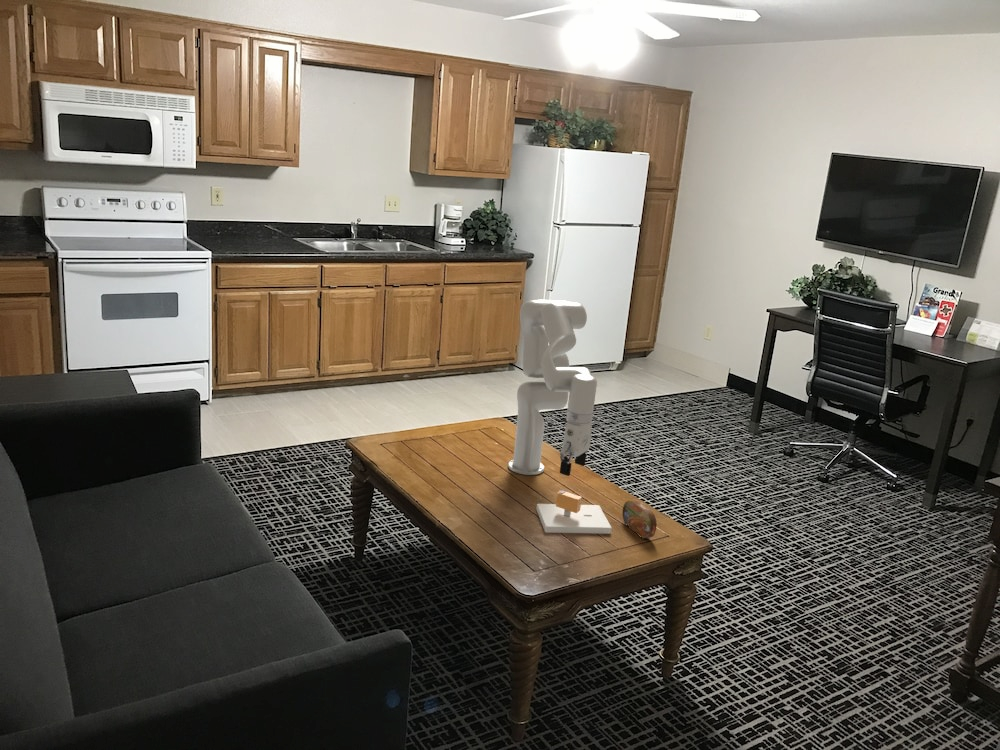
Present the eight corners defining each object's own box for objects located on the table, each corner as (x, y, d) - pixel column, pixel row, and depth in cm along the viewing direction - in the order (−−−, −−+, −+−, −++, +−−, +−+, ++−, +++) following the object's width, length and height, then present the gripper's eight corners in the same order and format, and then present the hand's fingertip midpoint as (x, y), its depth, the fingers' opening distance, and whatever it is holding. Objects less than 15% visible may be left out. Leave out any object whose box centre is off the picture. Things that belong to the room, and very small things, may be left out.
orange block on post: (580, 510, 243) (581, 496, 242) (576, 513, 241) (578, 499, 240) (559, 503, 246) (561, 489, 245) (555, 506, 244) (557, 492, 243)
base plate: (536, 509, 251) (537, 497, 250) (598, 510, 254) (599, 499, 253) (545, 532, 237) (546, 520, 236) (610, 533, 240) (612, 521, 239)
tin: (620, 520, 249) (623, 495, 247) (628, 519, 250) (632, 494, 248) (646, 543, 236) (651, 517, 233) (655, 542, 237) (660, 516, 235)
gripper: (577, 427, 226) (570, 482, 232) (603, 412, 241) (596, 464, 246) (554, 420, 230) (547, 474, 235) (581, 405, 244) (574, 457, 249)
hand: (572, 469), depth 240 cm, fingers open, 9 cm apart
